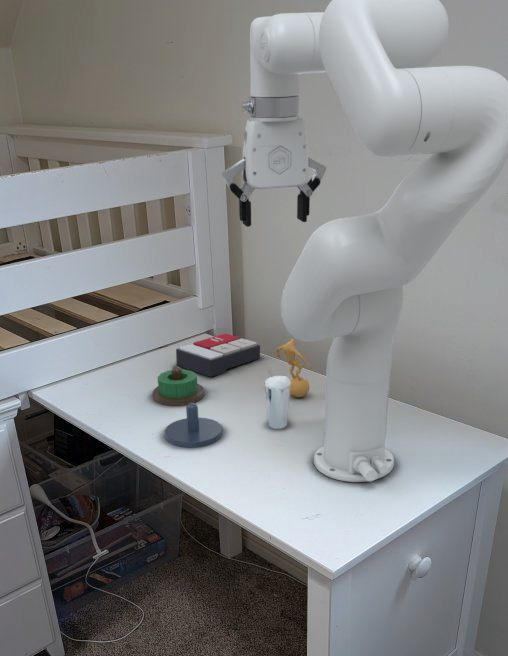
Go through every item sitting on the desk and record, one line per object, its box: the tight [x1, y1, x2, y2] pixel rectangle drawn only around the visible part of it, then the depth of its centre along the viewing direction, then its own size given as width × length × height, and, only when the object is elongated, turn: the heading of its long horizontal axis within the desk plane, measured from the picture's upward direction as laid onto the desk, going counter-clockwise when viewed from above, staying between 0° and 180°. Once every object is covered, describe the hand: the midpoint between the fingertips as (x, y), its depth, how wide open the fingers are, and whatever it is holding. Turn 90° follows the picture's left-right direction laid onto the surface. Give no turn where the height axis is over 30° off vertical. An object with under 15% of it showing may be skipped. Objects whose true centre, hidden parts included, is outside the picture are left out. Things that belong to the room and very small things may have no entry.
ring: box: [157, 369, 198, 398], centre depth 145 cm, size 7×7×3 cm
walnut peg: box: [152, 365, 205, 407], centre depth 144 cm, size 10×10×6 cm
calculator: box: [175, 333, 261, 378], centre depth 160 cm, size 11×4×15 cm
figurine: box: [276, 338, 312, 398], centre depth 140 cm, size 8×6×12 cm
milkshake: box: [264, 366, 291, 430], centre depth 130 cm, size 4×5×10 cm
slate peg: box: [164, 402, 223, 448], centre depth 129 cm, size 10×10×6 cm
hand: (274, 222), depth 125 cm, fingers open, 9 cm apart
